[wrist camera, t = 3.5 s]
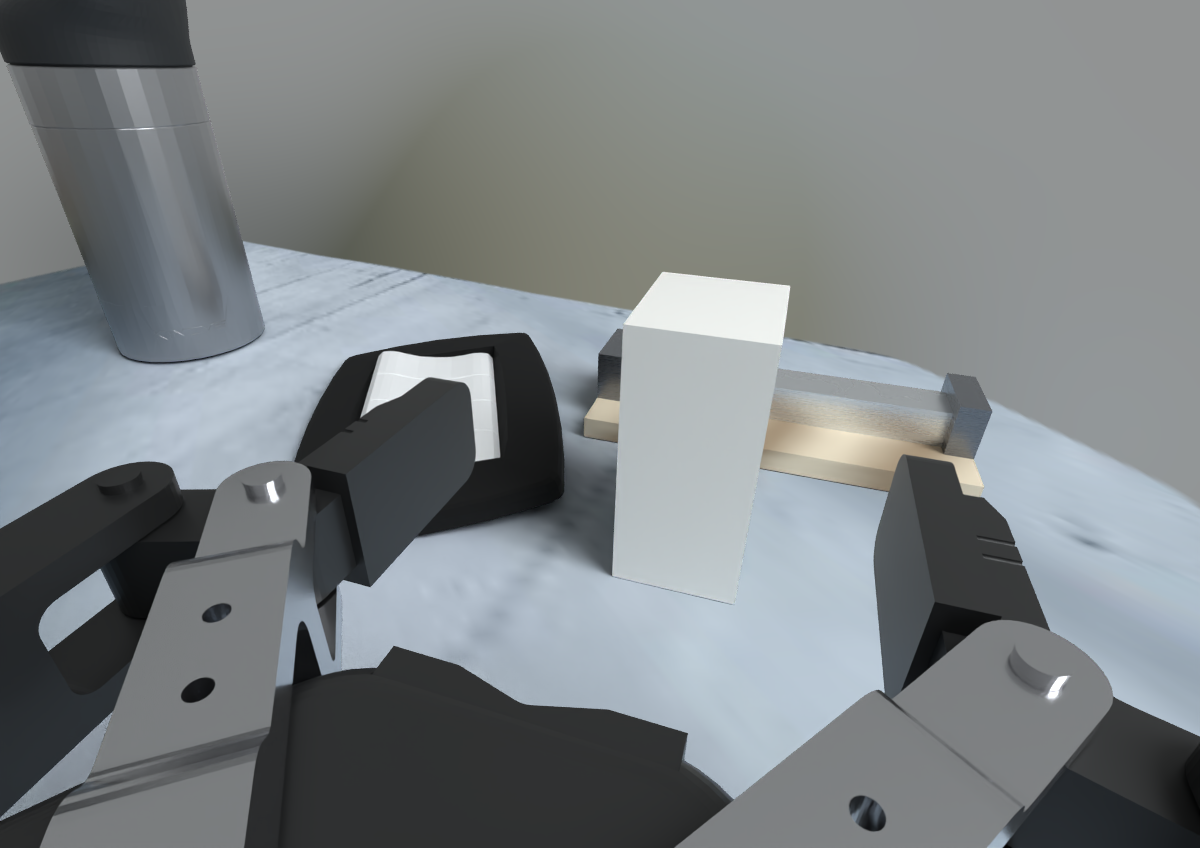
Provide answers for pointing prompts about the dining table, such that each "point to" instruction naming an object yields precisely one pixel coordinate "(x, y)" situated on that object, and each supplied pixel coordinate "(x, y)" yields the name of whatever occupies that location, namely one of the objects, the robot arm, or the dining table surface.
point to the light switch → (500, 417)
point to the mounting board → (818, 451)
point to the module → (694, 429)
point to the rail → (858, 405)
